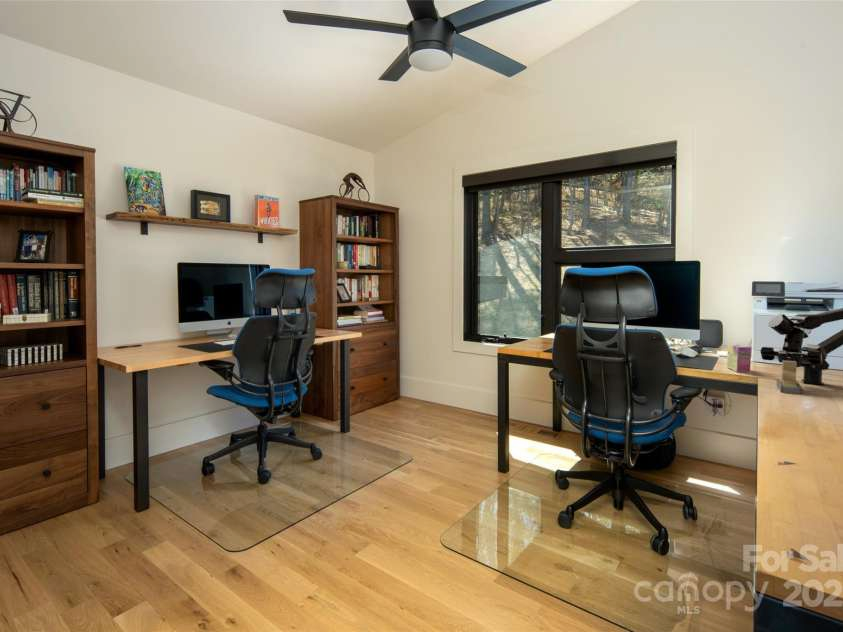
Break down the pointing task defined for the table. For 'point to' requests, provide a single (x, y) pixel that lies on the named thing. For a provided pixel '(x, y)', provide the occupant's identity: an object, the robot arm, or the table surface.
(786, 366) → the oak block
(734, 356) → the box
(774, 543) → the table surface
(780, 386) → the trap lane
